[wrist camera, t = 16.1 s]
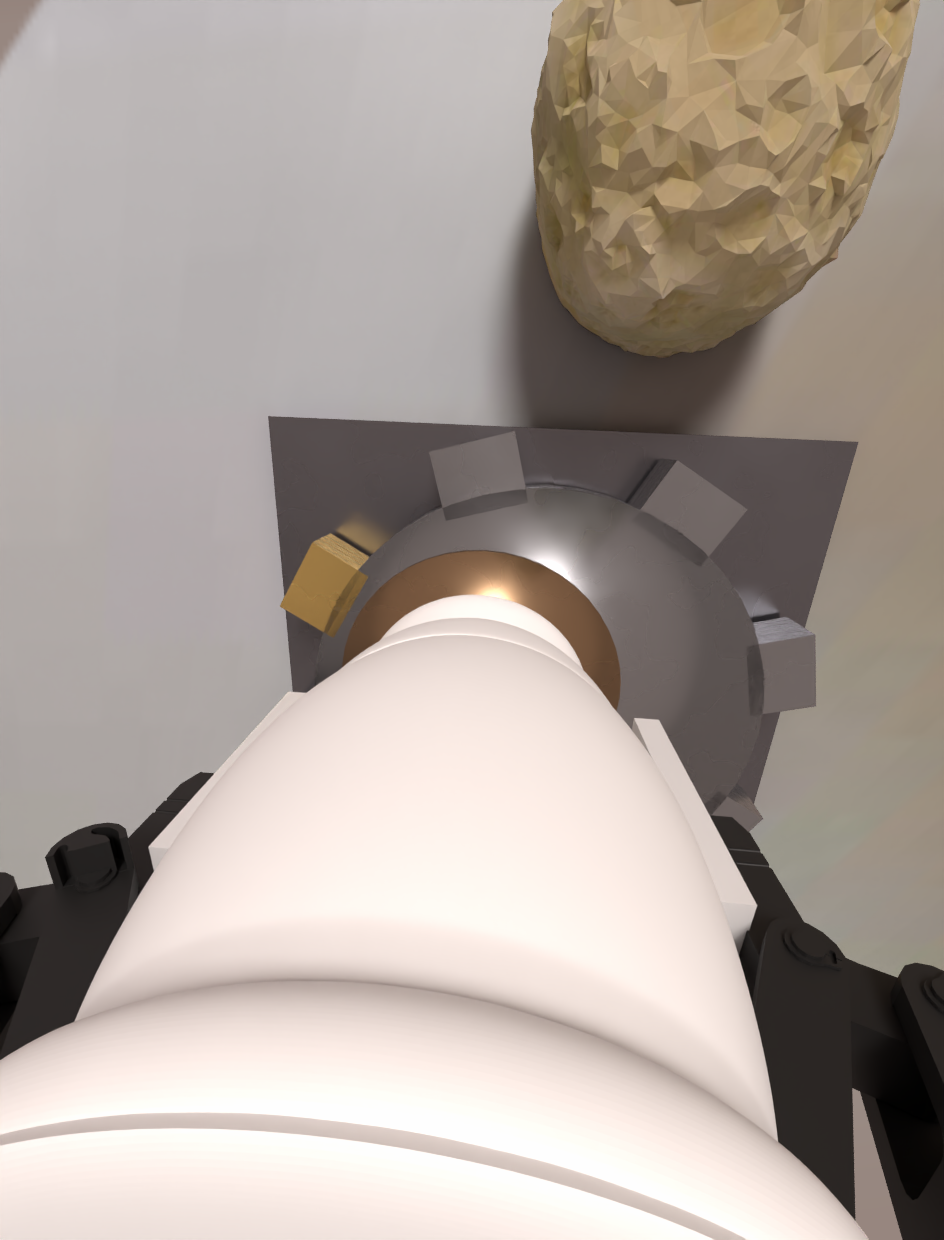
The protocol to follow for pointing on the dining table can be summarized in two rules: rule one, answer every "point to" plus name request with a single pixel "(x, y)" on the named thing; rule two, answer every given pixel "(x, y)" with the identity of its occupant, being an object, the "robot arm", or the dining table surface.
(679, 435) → the base plate
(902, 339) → the dining table surface
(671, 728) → the sprocket
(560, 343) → the dining table surface
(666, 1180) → the jar
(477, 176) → the dining table surface
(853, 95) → the decorative object
